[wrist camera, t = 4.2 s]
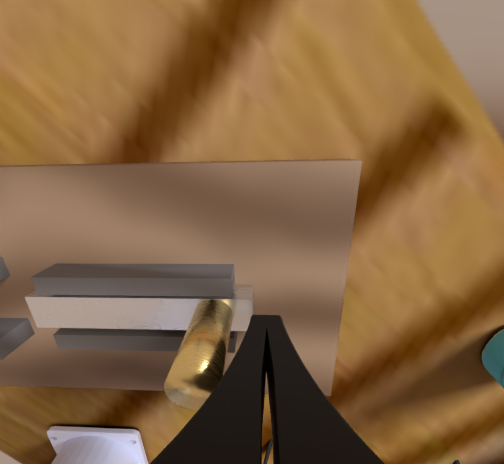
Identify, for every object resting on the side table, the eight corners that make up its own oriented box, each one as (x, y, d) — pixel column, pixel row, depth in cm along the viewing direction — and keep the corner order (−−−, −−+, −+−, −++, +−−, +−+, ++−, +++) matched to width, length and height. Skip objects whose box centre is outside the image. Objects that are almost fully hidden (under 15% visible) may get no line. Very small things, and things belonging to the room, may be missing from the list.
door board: (325, 375, 17) (340, 430, 14) (-13, 366, 18) (-73, 414, 15) (350, 158, 12) (383, 163, 9) (-120, 168, 13) (-248, 174, 10)
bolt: (253, 315, 13) (248, 411, 9) (55, 313, 14) (-56, 400, 9) (253, 286, 13) (246, 371, 8) (44, 284, 13) (-82, 362, 8)
